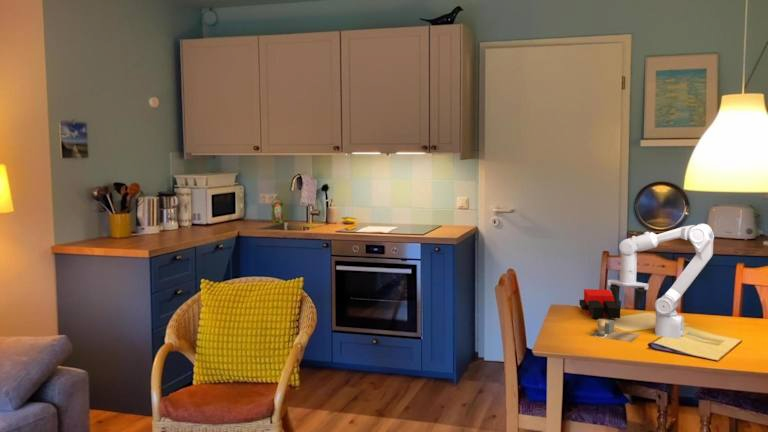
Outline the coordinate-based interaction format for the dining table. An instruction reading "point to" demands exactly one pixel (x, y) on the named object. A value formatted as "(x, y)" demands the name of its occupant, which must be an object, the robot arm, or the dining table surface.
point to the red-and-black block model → (599, 303)
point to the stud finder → (609, 326)
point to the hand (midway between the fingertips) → (627, 306)
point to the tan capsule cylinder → (601, 328)
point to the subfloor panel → (619, 336)
